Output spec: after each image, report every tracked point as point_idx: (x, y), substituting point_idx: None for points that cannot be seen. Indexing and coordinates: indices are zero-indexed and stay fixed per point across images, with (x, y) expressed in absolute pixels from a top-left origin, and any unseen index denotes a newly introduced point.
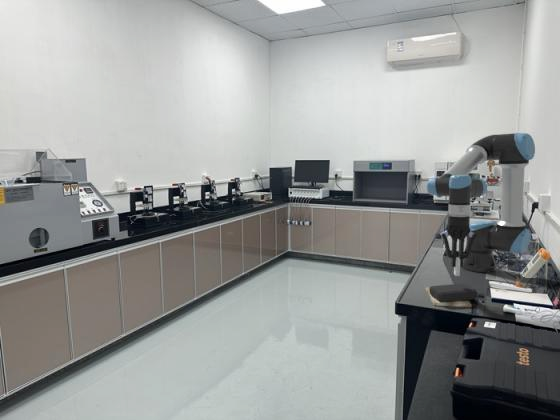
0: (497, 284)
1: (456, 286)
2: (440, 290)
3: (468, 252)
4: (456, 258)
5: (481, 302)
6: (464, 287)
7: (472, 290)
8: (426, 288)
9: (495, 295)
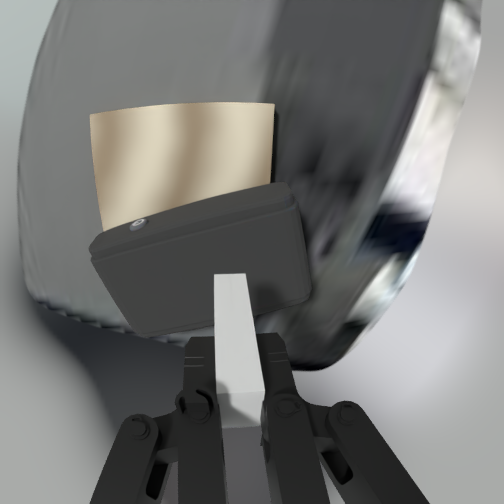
0: (461, 46)
1: (224, 263)
2: (136, 315)
3: (351, 475)
4: (234, 408)
5: (319, 256)
6: (264, 275)
7: (290, 302)
8: (91, 135)
9: (409, 171)
